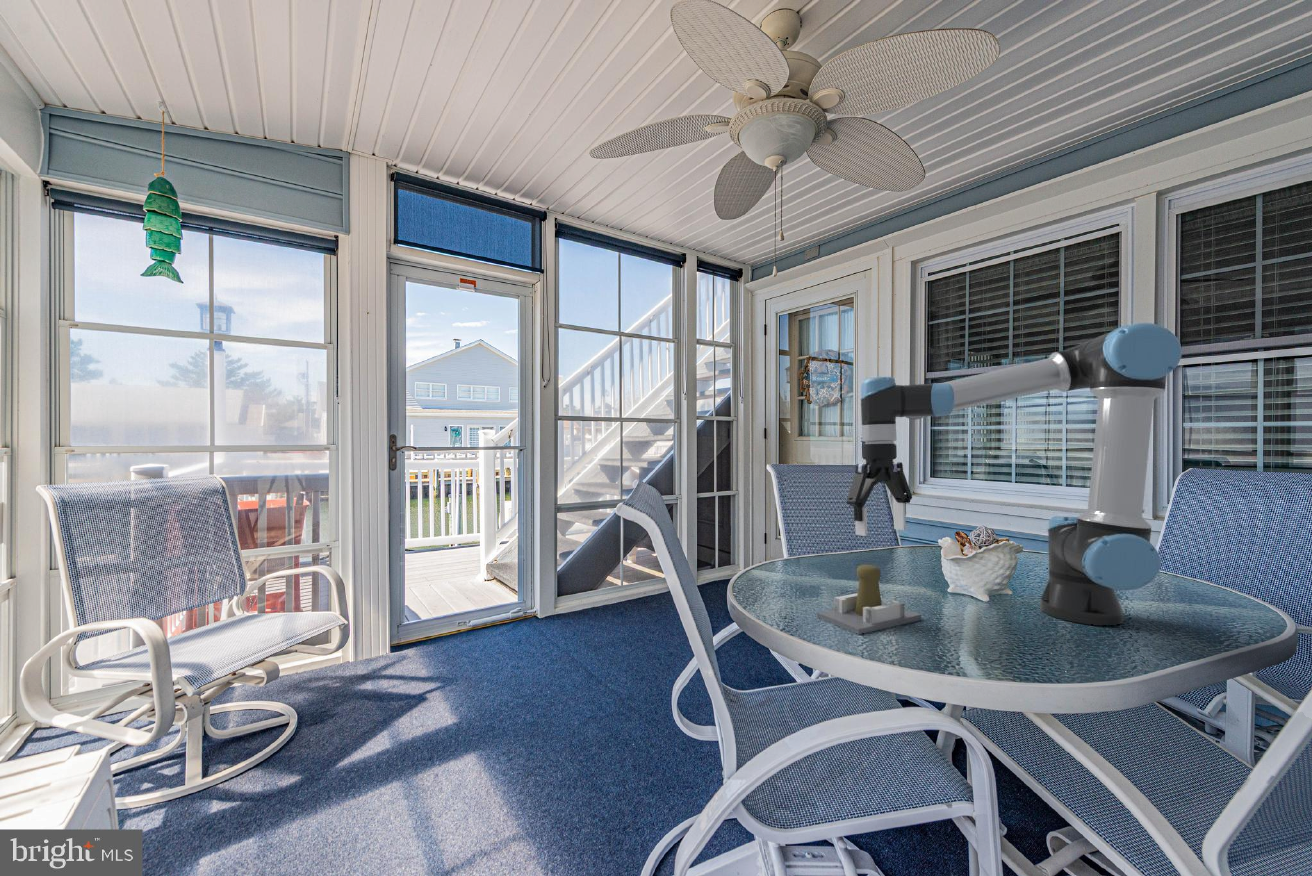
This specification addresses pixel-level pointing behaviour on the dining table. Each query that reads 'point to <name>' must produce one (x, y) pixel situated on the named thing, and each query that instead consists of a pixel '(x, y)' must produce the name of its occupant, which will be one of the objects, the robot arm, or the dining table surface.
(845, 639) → the dining table surface
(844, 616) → the base
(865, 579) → the cork
